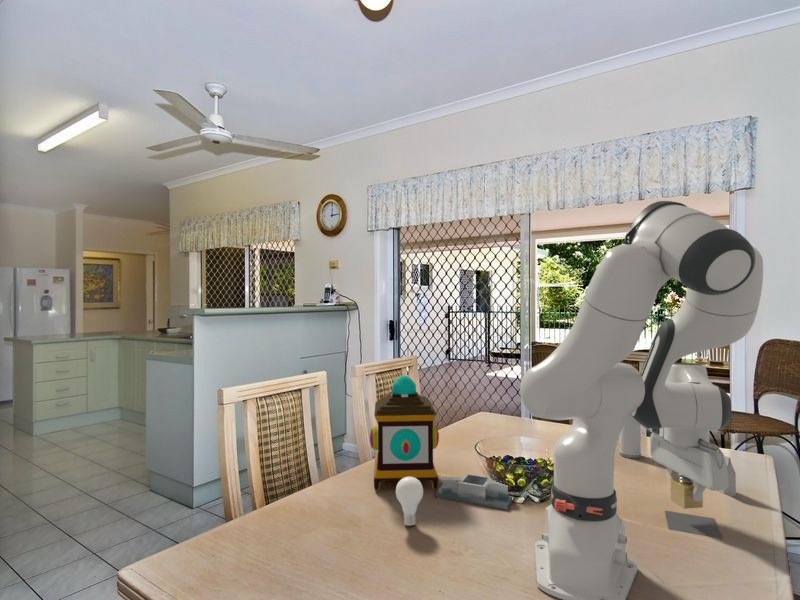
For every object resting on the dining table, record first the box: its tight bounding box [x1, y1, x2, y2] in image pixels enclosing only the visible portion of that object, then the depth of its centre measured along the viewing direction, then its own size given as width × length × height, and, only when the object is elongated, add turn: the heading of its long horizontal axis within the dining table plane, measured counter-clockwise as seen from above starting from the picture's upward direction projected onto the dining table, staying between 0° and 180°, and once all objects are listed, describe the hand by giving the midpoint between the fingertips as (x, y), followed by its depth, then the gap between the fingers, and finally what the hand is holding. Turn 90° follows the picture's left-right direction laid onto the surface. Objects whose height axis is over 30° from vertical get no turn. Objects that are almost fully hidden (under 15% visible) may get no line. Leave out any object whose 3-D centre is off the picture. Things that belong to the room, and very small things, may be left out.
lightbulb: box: [395, 476, 424, 527], centre depth 106 cm, size 6×6×11 cm
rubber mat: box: [664, 510, 724, 540], centre depth 104 cm, size 10×10×1 cm
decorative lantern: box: [369, 374, 440, 491], centre depth 134 cm, size 20×20×30 cm
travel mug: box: [618, 415, 642, 460], centre depth 153 cm, size 6×7×20 cm
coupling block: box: [670, 474, 704, 509], centre depth 105 cm, size 4×4×6 cm
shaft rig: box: [434, 472, 514, 511], centre depth 122 cm, size 10×19×4 cm, turn 64°
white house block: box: [717, 455, 737, 497], centre depth 124 cm, size 4×7×10 cm, turn 12°
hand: (686, 494), depth 105 cm, fingers closed on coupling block, 4 cm apart
